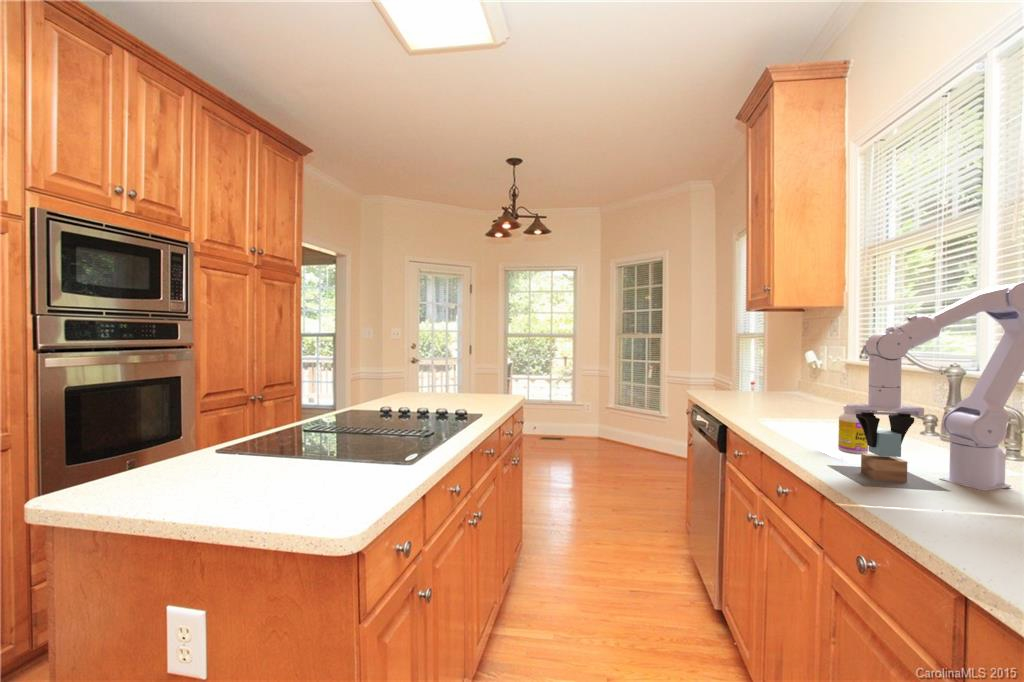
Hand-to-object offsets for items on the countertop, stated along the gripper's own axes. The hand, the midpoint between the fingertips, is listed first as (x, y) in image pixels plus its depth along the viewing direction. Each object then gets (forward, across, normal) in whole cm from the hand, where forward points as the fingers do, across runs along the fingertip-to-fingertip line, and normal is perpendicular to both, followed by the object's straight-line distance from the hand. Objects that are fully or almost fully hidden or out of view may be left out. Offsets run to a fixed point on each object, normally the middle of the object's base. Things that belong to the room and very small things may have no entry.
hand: (883, 446), depth 104 cm
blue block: (+2, 0, 0) cm, 2 cm away
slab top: (+5, 0, 0) cm, 5 cm away
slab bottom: (+7, 0, 0) cm, 7 cm away
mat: (+7, 0, 0) cm, 7 cm away
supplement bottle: (+7, +6, +26) cm, 27 cm away
